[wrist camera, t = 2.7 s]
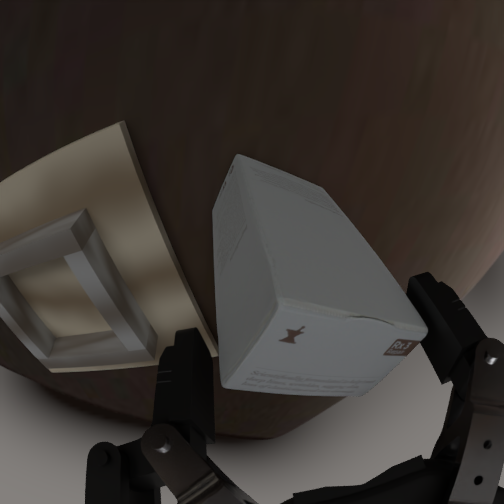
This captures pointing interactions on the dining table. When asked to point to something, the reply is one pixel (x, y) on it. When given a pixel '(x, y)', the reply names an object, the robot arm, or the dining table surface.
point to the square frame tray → (91, 260)
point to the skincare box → (301, 291)
